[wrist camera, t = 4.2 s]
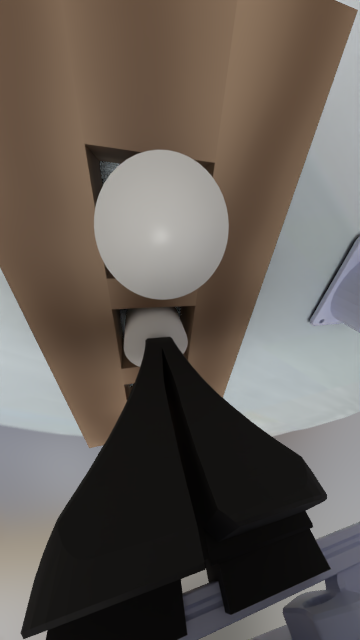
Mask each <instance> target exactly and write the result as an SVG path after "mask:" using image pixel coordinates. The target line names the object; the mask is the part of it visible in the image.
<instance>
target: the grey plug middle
mask: <svg viewBox="0 0 360 640" xmlns="http://www.w3.org/2000/svg"><path fill="white" fill-rule="evenodd" d="M159 337H171V338H172V339H173V340H174V342H175V344H176V345H177V347H178V348H179V350H180V351H181V352H182V354H184V352H185V351H186V348H187V344H188V339H187V335H186V333H185V330H184V328H183V325H182V322H181V320H180V317H179V315H178V312H177V310H176V307H154V308H131V309H128V310H127V312H126V319H125V335H124V352H125V355H126V357H127V358H128V359H129V361H130V362H132V363H133V364H135V365H137V366H139V367H140V366H141V363H142V359H143V355H144V351H145V340H146V339H147V338H159Z"/></svg>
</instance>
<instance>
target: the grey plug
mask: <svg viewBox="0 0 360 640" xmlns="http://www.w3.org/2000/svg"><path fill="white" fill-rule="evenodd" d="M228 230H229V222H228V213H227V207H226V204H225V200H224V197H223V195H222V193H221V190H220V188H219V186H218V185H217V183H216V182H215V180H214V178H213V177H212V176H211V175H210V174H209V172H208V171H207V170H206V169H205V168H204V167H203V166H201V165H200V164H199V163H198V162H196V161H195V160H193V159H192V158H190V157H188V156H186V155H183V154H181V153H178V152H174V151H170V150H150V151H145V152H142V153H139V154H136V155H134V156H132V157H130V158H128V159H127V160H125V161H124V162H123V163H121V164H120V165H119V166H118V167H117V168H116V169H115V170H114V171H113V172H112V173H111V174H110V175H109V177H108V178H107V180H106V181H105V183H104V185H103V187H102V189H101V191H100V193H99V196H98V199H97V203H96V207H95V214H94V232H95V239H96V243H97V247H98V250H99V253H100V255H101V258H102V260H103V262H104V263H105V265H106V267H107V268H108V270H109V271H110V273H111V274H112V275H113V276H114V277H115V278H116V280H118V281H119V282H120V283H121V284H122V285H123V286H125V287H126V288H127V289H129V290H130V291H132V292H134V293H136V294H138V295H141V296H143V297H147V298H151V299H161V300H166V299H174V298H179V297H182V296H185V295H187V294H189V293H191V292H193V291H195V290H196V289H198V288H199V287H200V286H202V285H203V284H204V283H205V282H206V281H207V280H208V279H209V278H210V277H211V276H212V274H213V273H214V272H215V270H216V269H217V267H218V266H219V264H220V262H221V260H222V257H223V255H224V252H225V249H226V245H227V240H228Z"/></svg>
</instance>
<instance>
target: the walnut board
mask: <svg viewBox="0 0 360 640" xmlns="http://www.w3.org/2000/svg"><path fill="white" fill-rule="evenodd" d="M357 11H358V10H356V9H354V8H352V7H349V6H347V5H345V4H342V3H340V2H338V1H335V0H0V268H1V270H2V272H3V274H4V276H5V278H6V280H7V282H8V284H9V286H10V288H11V290H12V292H13V294H14V296H15V298H16V300H17V302H18V304H19V306H20V308H21V310H22V312H23V314H24V316H25V318H26V320H27V322H28V325H29V327H30V329H31V331H32V333H33V335H34V337H35V339H36V341H37V343H38V345H39V347H40V349H41V351H42V353H43V355H44V357H45V359H46V361H47V363H48V365H49V367H50V369H51V371H52V373H53V375H54V377H55V379H56V381H57V383H58V385H59V387H60V390H61V392H62V394H63V396H64V398H65V400H66V402H67V404H68V406H69V408H70V410H71V412H72V414H73V416H74V418H75V420H76V422H77V424H78V426H79V428H80V430H81V432H82V434H83V436H84V438H85V440H86V442H87V444H88V446H89V448H92V447H96V446H101V445H104V444H105V442H106V440H107V439H108V437H109V435H110V433H111V432H112V430H113V428H114V426H115V424H116V422H117V420H118V418H119V416H120V414H121V412H122V410H123V408H124V406H125V404H126V402H127V400H128V398H129V395H130V393H131V391H132V387H130V384H133V383H135V380H136V378H137V375H138V372H139V369H140V367H139V366H137V365H135V364H133V363H132V362H130V361H129V359H128V358H127V357H126V355H125V352H124V339H123V332H122V324H121V317H120V310H119V309H131V308H154V307H176V306H181V314H180V320H181V322H182V325H183V328H184V330H185V333H186V335H187V339H188V344H187V348H186V351H185V352H184V354H183V355H184V356H185V358H186V359H187V360H188V361H189V363H190V364H191V365H192V367H193V368H194V369H195V370H196V371H197V372H198V373H199V375H200V376H201V377H202V378H203V379H204V380H205V381H206V382H207V383H208V384H209V385H210V386H211V387H212V388H213V389H214V390H215V391H216V392H217V393H218V394H219V395H220V396H221V397H222V398H223V395H224V392H225V389H226V386H227V383H228V381H229V378H230V375H231V372H232V369H233V366H234V363H235V361H236V358H237V355H238V352H239V349H240V346H241V343H242V340H243V338H244V335H245V332H246V329H247V326H248V323H249V320H250V318H251V315H252V312H253V309H254V306H255V303H256V300H257V298H258V295H259V292H260V289H261V286H262V283H263V280H264V277H265V275H266V272H267V269H268V266H269V263H270V260H271V257H272V255H273V252H274V249H275V246H276V243H277V240H278V237H279V234H280V232H281V229H282V226H283V223H284V220H285V217H286V214H287V212H288V209H289V206H290V203H291V200H292V197H293V194H294V192H295V189H296V186H297V183H298V180H299V177H300V174H301V171H302V169H303V166H304V163H305V160H306V157H307V154H308V151H309V149H310V146H311V143H312V140H313V137H314V134H315V131H316V128H317V126H318V123H319V120H320V117H321V114H322V111H323V108H324V106H325V103H326V100H327V97H328V94H329V91H330V88H331V86H332V83H333V80H334V77H335V74H336V71H337V68H338V65H339V63H340V60H341V57H342V54H343V51H344V48H345V45H346V43H347V40H348V37H349V34H350V31H351V28H352V25H353V22H354V20H355V17H356V14H357ZM150 150H170V151H174V152H178V153H181V154H183V155H186V156H188V157H190V158H192V159H193V160H195V161H196V162H198V163H199V164H200V165H201V166H203V167H204V168H205V169H206V170H207V171H208V172H209V174H210V175H211V176H212V177H213V178H214V180H215V182H216V183H217V185H218V186H219V188H220V190H221V193H222V195H223V197H224V200H225V204H226V207H227V213H228V222H229V230H228V240H227V245H226V249H225V252H224V255H223V257H222V260H221V262H220V264H219V266H218V267H217V269H216V270H215V272H214V273H213V274H212V276H211V277H210V278H209V279H208V280H207V281H206V282H205V283H204V284H203V285H202V286H200V287H199V288H198V289H196V290H195V291H193V292H191V293H189V294H187V295H185V296H182V297H179V298H174V299H166V300H161V299H151V298H147V297H143V296H141V295H138V294H136V293H134V292H132V291H130V290H129V289H127V288H126V287H125V286H123V285H122V284H121V283H120V282H119V281H118V280H116V278H115V277H114V276H113V275H112V274H111V273H110V271H109V270H108V268H107V267H106V265H105V263H104V262H103V260H102V258H101V255H100V253H99V250H98V247H97V243H96V239H95V232H94V214H95V207H96V203H97V199H98V196H99V193H100V191H101V189H102V187H103V185H102V177H101V170H100V163H99V161H105V162H113V163H123V162H124V161H125V160H127V159H128V158H130V157H132V156H134V155H136V154H139V153H142V152H145V151H150Z"/></svg>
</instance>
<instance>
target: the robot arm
mask: <svg viewBox="0 0 360 640" xmlns="http://www.w3.org/2000/svg"><path fill="white" fill-rule="evenodd" d="M310 323H311V324H312V325H314V326H316V325H328V324H340V323H344V324H346V325H348V326H349V327H351V328H353V329H354V330H356V331H358V332H360V236H359V237H358V238H357V240H356V241H355V243H354V245H353V246H352V248H351V250H350V252H349V253H348V255H347V257H346V259H345V260H344V262H343V264H342V266H341V267H340V269H339V271H338V272H337V274H336V276H335V278H334V279H333V281H332V283H331V285H330V286H329V288H328V290H327V292H326V293H325V295H324V297H323V298H322V300H321V302H320V304H319V305H318V307H317V309H316V311H315V312H314V314H313V316H312V318H311V319H310ZM326 499H327V494H326V492H325V491H324V490H323V488H322V486H321V485H320V483H319V482H318V480H317V479H316V477H315V476H314V474H313V472H312V471H311V469H310V468H309V467H308V465H307V464H306V463H305V461H304V460H303V458H302V457H301V456H299V455H298V454H296V453H295V452H294V451H292V450H291V449H289V448H288V447H286V446H285V445H283V444H282V443H280V442H279V441H277V440H276V439H274V438H273V437H271V436H270V435H269V434H267V433H266V432H264V431H263V430H262V429H260V428H259V427H258V426H256V425H255V424H254V423H252V422H251V421H250V420H249V419H247V418H246V417H245V416H244V415H242V414H241V413H240V412H239V411H237V410H236V409H235V408H234V407H233V406H231V405H230V404H229V403H228V402H227V401H226V400H225V399H223V398H222V397H221V396H220V395H219V394H218V393H217V392H216V391H215V390H214V389H213V388H212V387H211V386H210V385H209V384H208V383H207V382H206V381H205V380H204V379H203V378H202V377H201V376H200V375H199V373H198V372H197V371H196V370H195V369H194V368H193V367H192V365H191V364H190V363H189V361H188V360H187V359H186V358H185V356H184V355H183V354H182V352H181V351H180V350H179V348H178V347H177V345H176V344H175V342H174V340H173V339H172V338H171V337H159V338H147V339H146V340H145V351H144V355H143V359H142V363H141V366H140V369H139V372H138V375H137V378H136V380H135V383H134V386H133V388H132V391H131V393H130V395H129V398H128V400H127V402H126V404H125V406H124V408H123V410H122V412H121V414H120V416H119V418H118V420H117V422H116V424H115V426H114V428H113V430H112V432H111V433H110V435H109V437H108V439H107V440H106V442H105V444H104V446H103V447H102V449H101V451H100V452H99V454H98V456H97V458H96V459H95V461H94V463H93V464H92V466H91V468H90V469H89V471H88V473H87V474H86V476H85V477H84V479H83V480H82V482H81V483H80V485H79V487H78V488H77V490H76V491H75V493H74V494H73V496H72V497H71V499H70V500H69V502H68V503H67V505H66V507H65V508H64V510H63V511H62V513H61V514H60V516H59V518H58V519H57V522H56V524H55V526H54V528H53V531H52V533H51V536H50V538H49V540H48V543H47V545H46V548H45V550H44V553H43V556H42V558H41V561H40V565H39V568H38V571H37V573H36V576H35V580H34V583H33V587H32V591H31V595H30V599H29V603H28V607H27V611H26V615H25V618H24V622H23V626H22V630H21V635H22V637H23V639H25V638H28V637H30V636H33V635H36V634H39V633H41V632H43V631H46V630H48V631H47V637H46V640H198V639H200V638H202V637H205V636H207V635H209V634H211V633H213V632H215V631H217V630H219V629H222V628H224V627H226V626H228V625H230V624H232V623H234V622H236V621H239V620H241V619H243V618H245V617H247V616H249V615H251V614H253V613H255V612H258V611H260V610H262V609H264V608H266V607H268V606H270V605H273V604H275V603H277V602H279V601H281V600H283V599H285V598H287V597H289V596H292V595H294V594H296V593H298V592H300V591H302V590H304V589H306V588H309V587H311V586H313V585H315V584H317V583H319V582H321V581H323V580H325V584H326V590H320V591H312V592H307V593H304V594H301V595H299V596H297V597H296V598H295V599H293V600H292V601H291V602H290V603H289V604H287V605H286V606H285V607H284V608H283V615H284V618H285V621H286V623H287V625H284V626H282V627H279V628H277V629H274V630H272V631H269V632H266V633H264V634H261V635H259V636H256V637H254V638H251V639H248V640H360V522H358V523H356V524H353V525H351V526H348V527H346V528H343V529H341V530H338V531H336V532H333V533H331V534H328V535H326V536H323V537H321V538H319V539H316V540H315V538H314V536H313V534H312V532H311V530H310V528H312V527H313V525H312V522H311V520H310V518H309V517H308V515H307V513H306V510H308V509H310V508H312V507H314V506H315V505H317V504H320V503H321V502H323V501H325V500H326ZM205 568H206V570H207V575H208V581H209V583H207V584H205V585H202V586H200V587H197V588H195V589H192V590H190V591H187V592H185V593H182V586H181V579H182V578H184V577H187V576H189V575H192V574H195V573H197V572H200V571H203V570H205Z"/></svg>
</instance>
